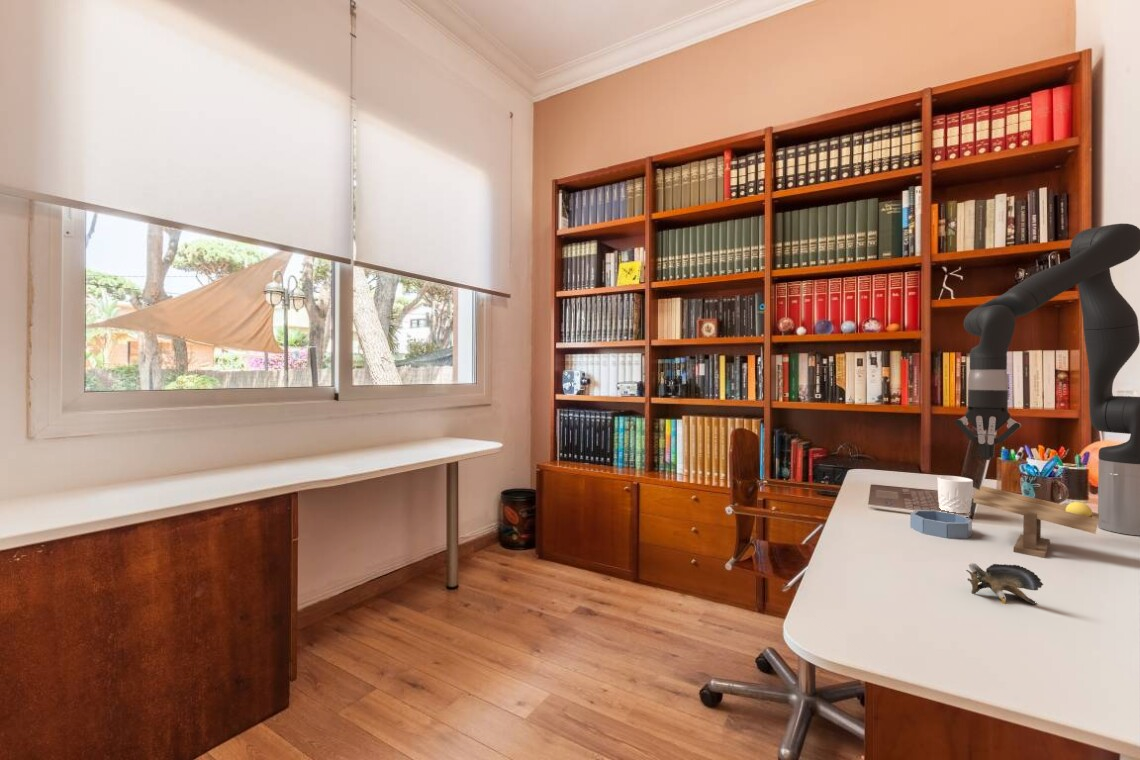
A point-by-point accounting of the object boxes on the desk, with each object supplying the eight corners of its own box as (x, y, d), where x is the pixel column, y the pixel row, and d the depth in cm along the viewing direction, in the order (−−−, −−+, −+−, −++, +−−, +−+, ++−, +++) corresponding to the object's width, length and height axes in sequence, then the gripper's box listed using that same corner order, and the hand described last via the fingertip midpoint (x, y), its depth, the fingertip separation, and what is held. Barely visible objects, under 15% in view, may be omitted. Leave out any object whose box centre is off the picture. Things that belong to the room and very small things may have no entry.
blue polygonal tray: (906, 530, 126) (906, 516, 126) (918, 521, 134) (918, 507, 134) (965, 541, 117) (965, 526, 117) (974, 531, 125) (974, 516, 125)
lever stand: (1013, 551, 111) (1013, 512, 111) (1020, 538, 120) (1021, 502, 119) (1044, 557, 107) (1045, 517, 107) (1049, 543, 116) (1050, 506, 116)
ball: (1071, 516, 111) (1078, 499, 110) (1093, 525, 107) (1100, 508, 106) (1057, 515, 110) (1064, 498, 109) (1078, 524, 106) (1085, 506, 105)
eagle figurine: (983, 600, 84) (1051, 598, 81) (966, 556, 88) (1030, 553, 85) (973, 609, 90) (1036, 607, 87) (958, 567, 94) (1018, 564, 91)
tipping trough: (970, 502, 118) (972, 489, 118) (980, 493, 127) (982, 481, 127) (1095, 535, 104) (1098, 519, 103) (1096, 522, 113) (1099, 508, 112)
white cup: (960, 511, 143) (960, 476, 143) (979, 519, 136) (980, 481, 136) (930, 510, 144) (930, 475, 144) (948, 518, 136) (948, 481, 136)
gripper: (950, 388, 126) (949, 457, 126) (1021, 389, 116) (1020, 464, 117) (957, 387, 131) (956, 454, 131) (1025, 388, 122) (1024, 461, 122)
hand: (986, 459), depth 124 cm, fingers closed
